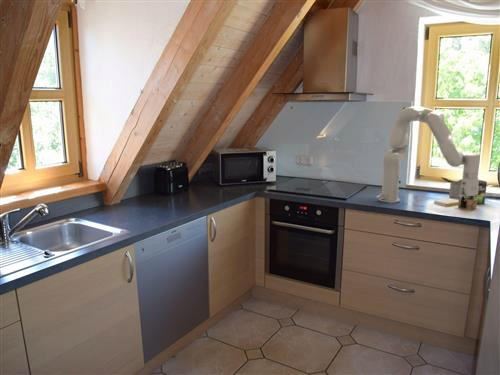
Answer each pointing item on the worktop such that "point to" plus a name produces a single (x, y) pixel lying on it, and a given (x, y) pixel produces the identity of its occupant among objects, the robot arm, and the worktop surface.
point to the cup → (454, 190)
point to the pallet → (466, 210)
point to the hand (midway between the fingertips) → (467, 206)
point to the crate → (469, 204)
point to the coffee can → (481, 192)
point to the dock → (446, 202)
